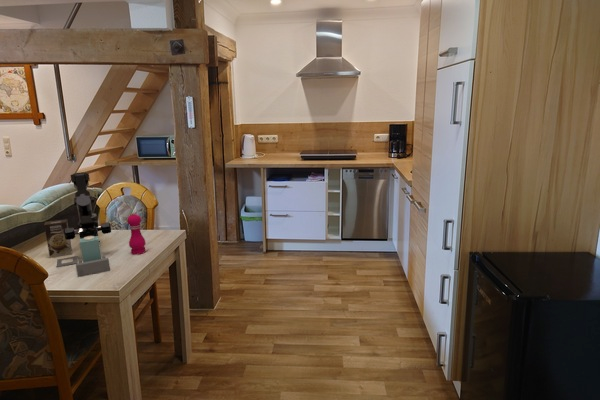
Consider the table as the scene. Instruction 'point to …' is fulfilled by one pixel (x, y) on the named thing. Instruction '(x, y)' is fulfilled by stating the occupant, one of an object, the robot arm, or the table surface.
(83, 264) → the gray support stand
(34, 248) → the table surface
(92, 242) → the teal tall block
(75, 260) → the card
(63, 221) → the cookie box
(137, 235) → the pepper mill
